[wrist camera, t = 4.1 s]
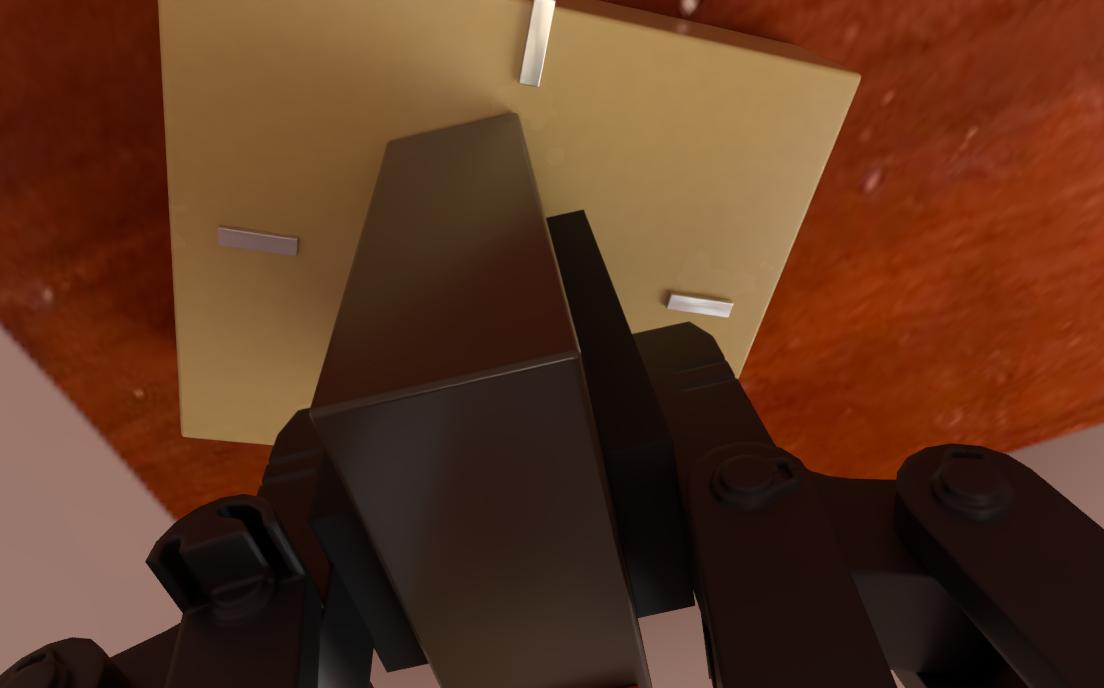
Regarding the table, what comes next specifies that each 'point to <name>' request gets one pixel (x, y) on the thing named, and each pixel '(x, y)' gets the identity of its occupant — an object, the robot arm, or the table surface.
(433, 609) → the lock turn
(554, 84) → the lock plate
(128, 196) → the table surface
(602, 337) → the robot arm
